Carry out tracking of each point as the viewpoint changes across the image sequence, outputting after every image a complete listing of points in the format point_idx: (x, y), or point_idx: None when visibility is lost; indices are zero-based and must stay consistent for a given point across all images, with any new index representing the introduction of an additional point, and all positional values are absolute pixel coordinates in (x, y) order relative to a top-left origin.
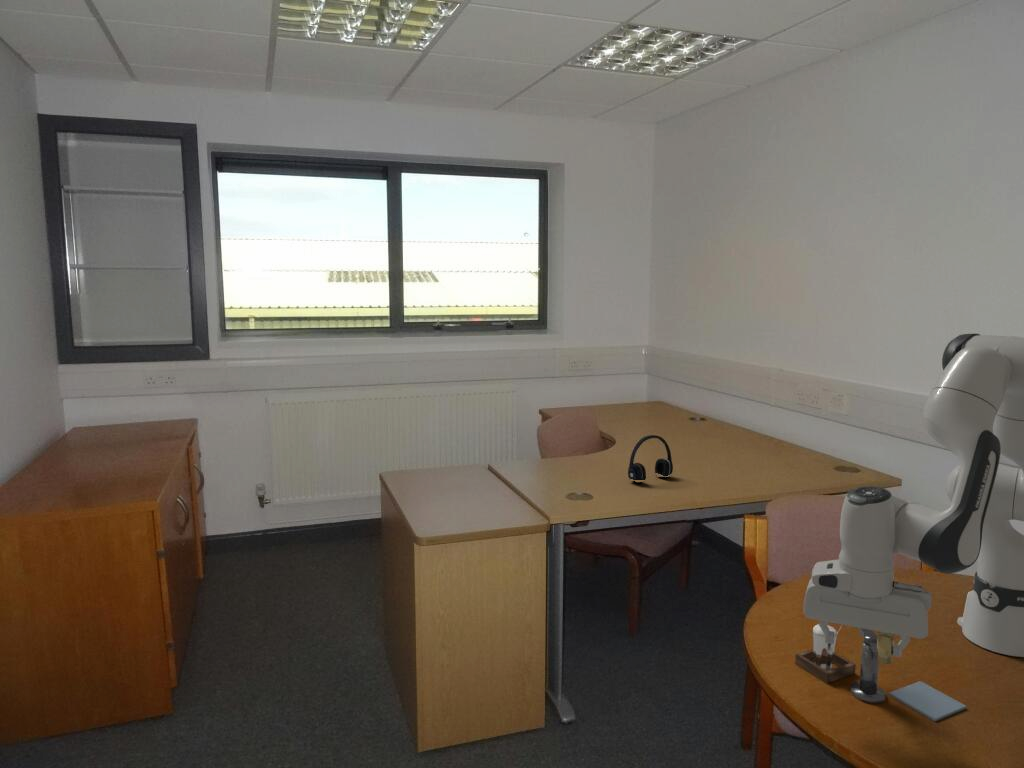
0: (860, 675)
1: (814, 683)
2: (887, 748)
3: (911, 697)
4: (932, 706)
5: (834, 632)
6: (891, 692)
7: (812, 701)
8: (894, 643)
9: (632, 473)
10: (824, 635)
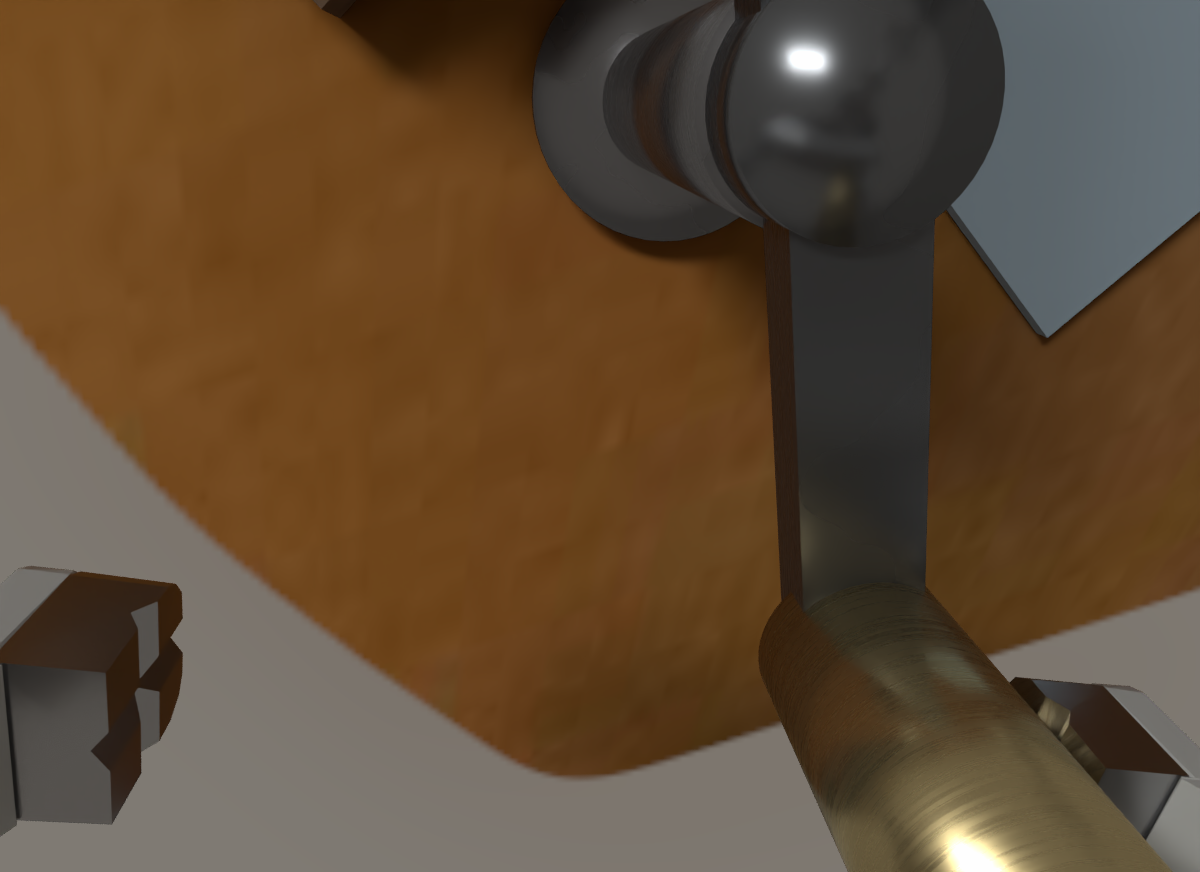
0: (618, 109)
1: (230, 55)
2: (664, 686)
3: None
4: (1101, 174)
5: (111, 667)
6: None
7: (231, 352)
8: (1121, 788)
9: None
10: None
